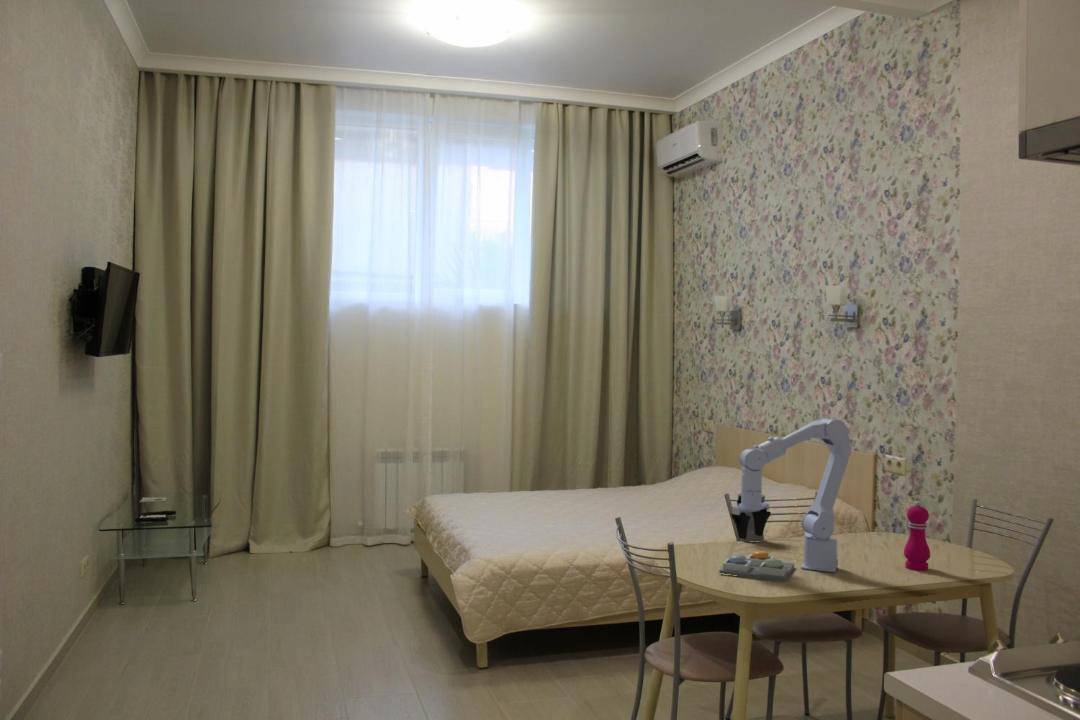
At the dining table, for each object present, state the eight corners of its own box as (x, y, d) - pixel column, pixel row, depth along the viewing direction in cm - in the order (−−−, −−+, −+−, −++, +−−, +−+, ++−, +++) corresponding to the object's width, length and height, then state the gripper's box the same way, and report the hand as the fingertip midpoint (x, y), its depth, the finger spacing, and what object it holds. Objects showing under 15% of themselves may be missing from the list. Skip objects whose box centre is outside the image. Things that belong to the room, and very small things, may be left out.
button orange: (769, 557, 256) (769, 551, 256) (767, 560, 252) (767, 554, 252) (753, 555, 258) (753, 549, 258) (750, 558, 254) (751, 553, 254)
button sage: (782, 565, 246) (782, 559, 246) (780, 569, 242) (780, 563, 242) (766, 563, 248) (766, 557, 248) (763, 567, 244) (763, 561, 244)
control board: (794, 567, 256) (794, 557, 256) (784, 582, 239) (785, 571, 239) (732, 560, 263) (732, 550, 263) (719, 574, 246) (719, 563, 246)
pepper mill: (935, 569, 257) (936, 502, 257) (919, 572, 253) (920, 503, 253) (914, 564, 263) (915, 498, 263) (898, 566, 260) (899, 499, 260)
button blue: (746, 561, 250) (746, 555, 250) (743, 565, 246) (743, 559, 246) (730, 559, 252) (730, 554, 252) (727, 563, 248) (727, 557, 248)
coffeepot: (747, 535, 303) (748, 483, 303) (772, 539, 296) (773, 486, 296) (724, 541, 291) (725, 487, 291) (750, 545, 285) (751, 490, 285)
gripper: (755, 486, 262) (754, 531, 262) (724, 490, 253) (723, 537, 253) (775, 489, 257) (774, 535, 257) (744, 493, 247) (743, 541, 248)
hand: (750, 536), depth 254 cm, fingers open, 7 cm apart
